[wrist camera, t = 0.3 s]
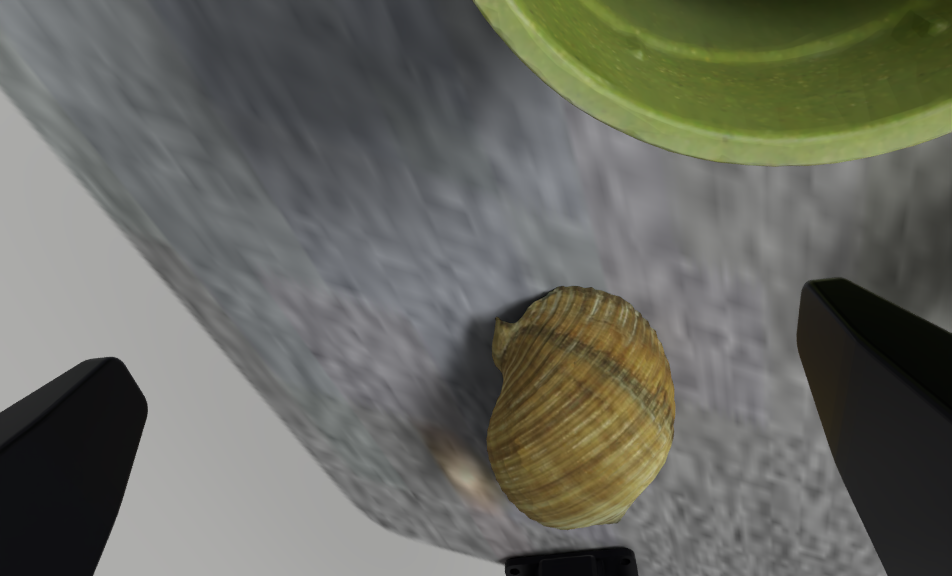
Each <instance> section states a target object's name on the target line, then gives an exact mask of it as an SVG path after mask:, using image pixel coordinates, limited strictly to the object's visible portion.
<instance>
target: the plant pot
mask: <svg viewBox="0 0 952 576" xmlns="http://www.w3.org/2000/svg"><path fill="white" fill-rule="evenodd" d="M472 1H473V2H474V3H475V5H476V6H477V8H478V9H479V10H480V12H481V13H482V15H483V16H484V17H485V19H486V20H487V21H488V23H489V24H490V25H491V27H492V28H493V29H494V30H495V32H496V33H497V34H498V35H499V36H500V38H501V39H502V40H503V41H504V42H505V44H506V45H507V46H508V47H509V48H510V49H511V51H512V52H513V53H514V54H515V55H516V56H517V57H518V58H519V59H520V60H521V61H522V62H523V63H524V64H525V65H526V66H527V67H528V68H529V69H530V70H531V71H532V72H533V73H534V74H536V75H537V76H538V77H539V78H540V79H541V80H542V81H543V82H544V83H545V84H547V85H548V86H549V87H550V88H552V89H553V90H554V91H555V92H557V93H558V94H559V95H560V96H562V97H563V98H564V99H566V100H567V101H568V102H570V103H571V104H572V105H574V106H576V107H577V108H579V109H580V110H582V111H584V112H585V113H587V114H588V115H590V116H592V117H593V118H595V119H597V120H599V121H601V122H603V123H605V124H606V125H608V126H610V127H612V128H614V129H616V130H618V131H620V132H623V133H625V134H627V135H629V136H631V137H633V138H636V139H638V140H640V141H643V142H645V143H648V144H651V145H654V146H656V147H659V148H662V149H664V150H667V151H670V152H674V153H678V154H682V155H686V156H690V157H694V158H698V159H703V160H709V161H714V162H721V163H731V164H741V165H755V166H772V167H779V166H810V165H821V164H832V163H839V162H845V161H851V160H857V159H862V158H867V157H872V156H876V155H880V154H884V153H888V152H892V151H896V150H900V149H903V148H907V147H911V146H914V145H917V144H920V143H923V142H926V141H929V140H932V139H935V138H938V137H940V136H943V135H946V134H948V133H951V132H952V0H472Z"/></svg>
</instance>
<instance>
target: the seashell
mask: <svg viewBox="0 0 952 576" xmlns="http://www.w3.org/2000/svg"><path fill="white" fill-rule="evenodd" d="M495 320H496V324H495V331H494V337H493V343H492V357H493V360H494V363H495V365H496V367H497V368H498V369H499V370H500V371H501V373H502V375H503V386H502V390H501V394H500V396H499V398H498V399H497V402H496V406H495V407H494V409H493V413H492V416H491V418H490V423H489V427H488V430H487V434H488V435H487V439H486V440H487V451H488V455H489V460H490V463H491V467H492V470H493V472H494V473H495V477H496V480H497V481H498V483H499V485H500V487H501V489H502V491H503V492H504V493H505V494H506V495H507V497H508V499H509V501H511V502H512V503H513V504H515V506H516V507H517V508H518V509H519V511H521V512H523V513H525V514H526V515H527V516H528V517H529V518H530V519H532V520H535V521H537V522H539V523H540V524H542V525H543V526H546V527H554V528H557V529H560V530H570V529H575V528H584V527H588V526H591V525H603V524H613V523H618V522H619V521H620V520H621V518H622V517H623V516H624V514H625V513H626V511H627V509H628V508H629V507H630V506H631V504H632V503H633V502H634V501H635V499H636V498H637V497H638V496H639V495H640V494H641V493H642V492H643V491H644V490H645V488H646V487H647V486H648V485H649V484H650V483H651V482H652V481H653V480H654V478H655V477H656V475H657V474H658V472H659V471H660V469H661V468H662V466H663V465H664V463H665V461H666V458H667V455H668V452H669V450H670V448H671V444H672V441H673V436H674V428H673V424H674V419H675V401H674V385H673V381H672V379H671V371H670V366H669V362H668V360H667V358H666V355H665V354H664V350H663V347H662V344H661V342H660V341H659V340H658V339H657V334H656V331H655V330H654V329H652V328H651V327H650V325H649V322H648V321H647V320H645V319H644V318H642V315H641V313H639V312H638V311H636V310H634V308H633V306H632V305H631V304H630V303H628V302H627V301H625V300H623V299H622V298H621V297H619V296H615V295H611V294H608V293H607V292H604V291H600V290H595V289H593V288H592V287H590V288H582V287H579V286H570V287H564V286H561V287H557V288H556V289H555V290H553V291H552V292H549V293H548V295H547V296H545V297H543V298H541V299H539V300H537V301H535V302H534V303H533V304H532V305H531V306H529V307H528V308H527V310H526V312H525V313H524V315H523V317H522V318H521V319H520V320H519V321H518V322H516V323H511V324H510V323H508V322H505V321H501V320H500V319H499V318H498V317H496V318H495Z"/></svg>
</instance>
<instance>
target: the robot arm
mask: <svg viewBox="0 0 952 576" xmlns="http://www.w3.org/2000/svg"><path fill="white" fill-rule="evenodd" d="M797 347H798V352H799V356H800V359H801V362H802V365H803V368H804V371H805V374H806V377H807V380H808V383H809V386H810V389H811V392H812V395H813V398H814V401H815V405H816V408H817V411H818V414H819V417H820V420H821V423H822V426H823V429H824V432H825V435H826V438H827V441H828V444H829V447H830V450H831V453H832V456H833V458H834V461H835V464H836V466H837V468H838V471H839V473H840V475H841V477H842V480H843V482H844V484H845V486H846V488H847V490H848V493H849V495H850V497H851V499H852V501H853V503H854V505H855V507H856V509H857V512H858V514H859V516H860V518H861V520H862V522H863V524H864V526H865V529H866V531H867V533H868V535H869V537H870V539H871V541H872V543H873V545H874V548H875V550H876V552H877V554H878V556H879V558H880V560H881V562H882V565H883V567H884V569H885V571H886V573H887V575H888V576H952V333H950V332H948V331H946V330H944V329H942V328H940V327H938V326H937V325H935V324H933V323H931V322H929V321H927V320H925V319H923V318H921V317H919V316H917V315H915V314H913V313H911V312H909V311H907V310H905V309H903V308H902V307H900V306H898V305H896V304H894V303H892V302H890V301H888V300H886V299H884V298H882V297H880V296H878V295H876V294H874V293H872V292H870V291H868V290H867V289H865V288H863V287H861V286H859V285H857V284H855V283H853V282H851V281H849V280H847V279H845V278H841V277H835V278H826V279H817V280H810V281H808V282H806V283H805V284H804V286H803V288H802V292H801V299H800V308H799V317H798V326H797ZM147 414H148V406H147V401H146V399H145V396H144V395H143V393H142V392H141V390H140V388H139V387H138V385H137V383H136V382H135V380H134V379H133V377H132V375H131V374H130V372H129V371H128V369H127V367H126V366H125V364H124V363H123V362H122V361H121V360H119V359H118V358H115V357H104V358H95V359H89V360H85V361H83V362H81V363H80V364H78V365H76V366H75V367H73V368H72V369H70V370H68V371H67V372H65V373H64V374H62V375H60V376H59V377H57V378H55V379H54V380H53V381H51V382H49V383H47V384H46V385H44V386H42V387H41V388H39V389H38V390H36V391H35V392H33V393H31V394H30V395H28V396H26V397H25V398H23V399H22V400H20V401H18V402H17V403H15V404H13V405H12V406H10V407H9V408H7V409H5V410H4V411H2V412H0V576H93V575H94V572H95V569H96V567H97V565H98V562H99V560H100V558H101V555H102V552H103V550H104V548H105V545H106V543H107V540H108V538H109V536H110V533H111V530H112V528H113V525H114V523H115V520H116V517H117V515H118V512H119V509H120V506H121V503H122V500H123V496H124V493H125V489H126V486H127V483H128V479H129V476H130V473H131V469H132V466H133V462H134V459H135V456H136V452H137V449H138V445H139V442H140V438H141V436H142V432H143V429H144V425H145V422H146V419H147ZM505 574H506V576H638V570H637V565H636V559H635V554H634V552H633V551H632V550H631V549H628V548H620V549H609V550H599V551H588V552H577V553H567V554H556V555H545V556H534V557H524V558H513V559H509V560H507V561H506V563H505Z"/></svg>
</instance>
